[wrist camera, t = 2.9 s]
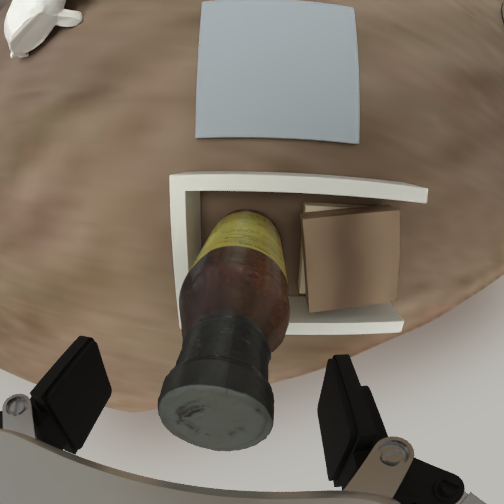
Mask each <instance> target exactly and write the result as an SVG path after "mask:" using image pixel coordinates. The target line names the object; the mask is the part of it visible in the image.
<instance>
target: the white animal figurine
mask: <svg viewBox="0 0 504 504" xmlns="http://www.w3.org/2000/svg"><path fill="white" fill-rule="evenodd" d="M65 3H66V0H13V1H12V3H11V6H10V8H9V10H8V12H7V15H6V19H5V23H4V33H5V37H6V39H7V41H8V45H9V49H10V50H11V58H14V57H17V56H18V57H19V58H23V57H28V56H29V54H28V52H29V51H31V50H32V49H34V48H36V47H37V46H38V45H39V44H41V43H42V42H43V41H44V40H45V38H46V37H47V36H48V34H49V33H50V32H51V30H52V29H53V27H54V26H55V25H59V26H63V27H72V26H76V25H78V24H79V23H80V22H81V21H82V17H83V15H82V14H81V12H79V11H73V10H68V9H64V6H65Z"/></svg>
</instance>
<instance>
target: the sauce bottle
mask: <svg viewBox="0 0 504 504" xmlns="http://www.w3.org/2000/svg"><path fill="white" fill-rule="evenodd" d="M288 296H289V288H288V280H287V274H286V268H285V262H284V256H283V250H282V244H281V240H280V236H279V233H278V231H277V229H276V227H275V226H274V224H273V223H272V222H271V221H270V220H269V219H268V218H267V217H265V216H264V215H263V214H262V213H259V212H257V211H252V210H239V211H234V212H232V213H230V214H228V215H227V216H226V217H224V218H223V219H221V220H220V221H219V222H218V223H217V224H216V226H215V227H214V228H213V230H212V232H211V234H210V235H209V237H208V239H207V240H206V242H205V243H204V245H203V247H202V248H201V251H200V252H199V254H198V256H197V258H196V259H195V261H194V263H193V264H192V266H191V268H190V270H189V272H188V274H187V275H186V277H185V279H184V282H183V284H182V287H181V290H180V294H179V310H180V319H181V328H182V336H183V344H182V350H181V352H180V355H179V358H178V360H177V362H176V366H175V367H174V368H173V369H172V370H171V371H170V373H169V374H168V375H167V376H166V378H165V380H164V382H163V386H162V390H161V394H160V396H159V398H158V412H159V416H160V418H161V421H162V423H163V424H164V426H165V427H166V428H167V429H168V430H169V431H170V432H171V433H172V434H173V435H175V436H177V437H179V438H180V439H182V440H184V441H186V442H188V443H191V444H193V445H196V446H199V447H203V448H207V449H211V450H215V451H233V450H241V449H245V448H248V447H251V446H254V445H256V444H258V443H259V442H260V441H262V440H264V439H265V438H266V437H267V435H269V433H270V431H271V429H272V427H273V420H274V397H273V392H272V388H271V386H270V384H269V382H268V364H269V361H270V359H271V352H273V351H274V350H275V349H276V348H277V347H278V346H279V345H280V344H281V343H282V341H283V339H284V337H285V334H286V331H287V328H288V325H289V318H290V305H289V298H288Z"/></svg>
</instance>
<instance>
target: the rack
mask: <svg viewBox="0 0 504 504" xmlns="http://www.w3.org/2000/svg"><path fill="white" fill-rule="evenodd" d="M169 179H170V212H171V233H172V249H173V263H174V276H175V287H176V298H177V307H178V317H179V325H180V329H182V328H181V319H180V310H179V294H180V290H181V287H182V284H183V282H184V279H185V277H186V275H187V274H188V272H189V270H190V268H191V266H192V264H193V263H194V261H195V259H196V258H197V256H198V254H199V252H200V251H201V248H202V246H201V209H200V191H261V192H290V193H311V194H328V195H343V196H356V197H369V198H380V199H391V200H401V201H410V202H419V203H427V196H428V188H424V187H420V186H416V185H412V184H408V183H404V182H397V181H388V180H379V179H370V178H360V177H349V176H336V175H323V174H307V173H287V172H255V171H192V172H183V173H178V174H173V175H169ZM288 298H289V305H290V318H289V325H288V328H287V331H286V334H285V335H345V334H376V333H395V332H401V330H402V327H403V323H404V320H403V319H402V317H401V316H400V315H399V313H398V312H397V311H396V309H395V308H394V307H393V305H392V304H391V303H390V301H389V302H383V303H377V304H370V305H364V306H357V307H350V308H343V309H336V310H328V311H320V312H312V313H309V309H308V305H307V301H306V296H288Z"/></svg>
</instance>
